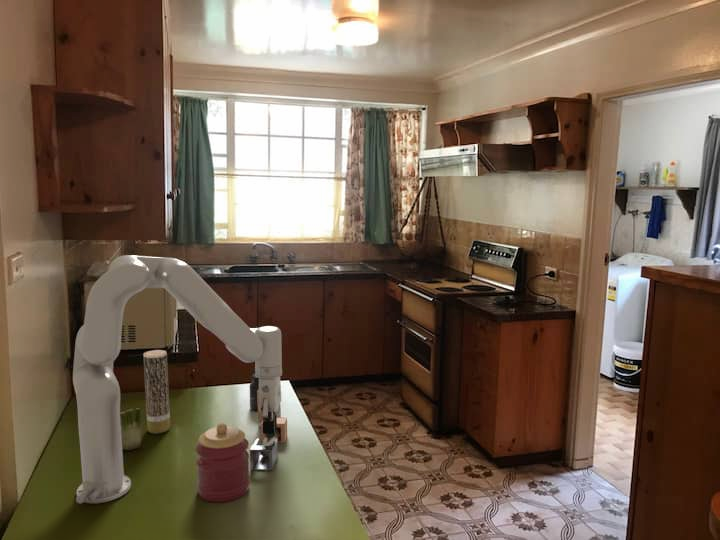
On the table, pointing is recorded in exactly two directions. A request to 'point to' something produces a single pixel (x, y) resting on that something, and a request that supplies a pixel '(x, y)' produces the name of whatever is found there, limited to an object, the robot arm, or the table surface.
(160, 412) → the paper tube
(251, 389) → the supplement bottle
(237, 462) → the canister
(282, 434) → the socket
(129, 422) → the fennel bulb
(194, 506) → the table surface
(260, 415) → the skincare box
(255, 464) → the sleeve
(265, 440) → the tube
